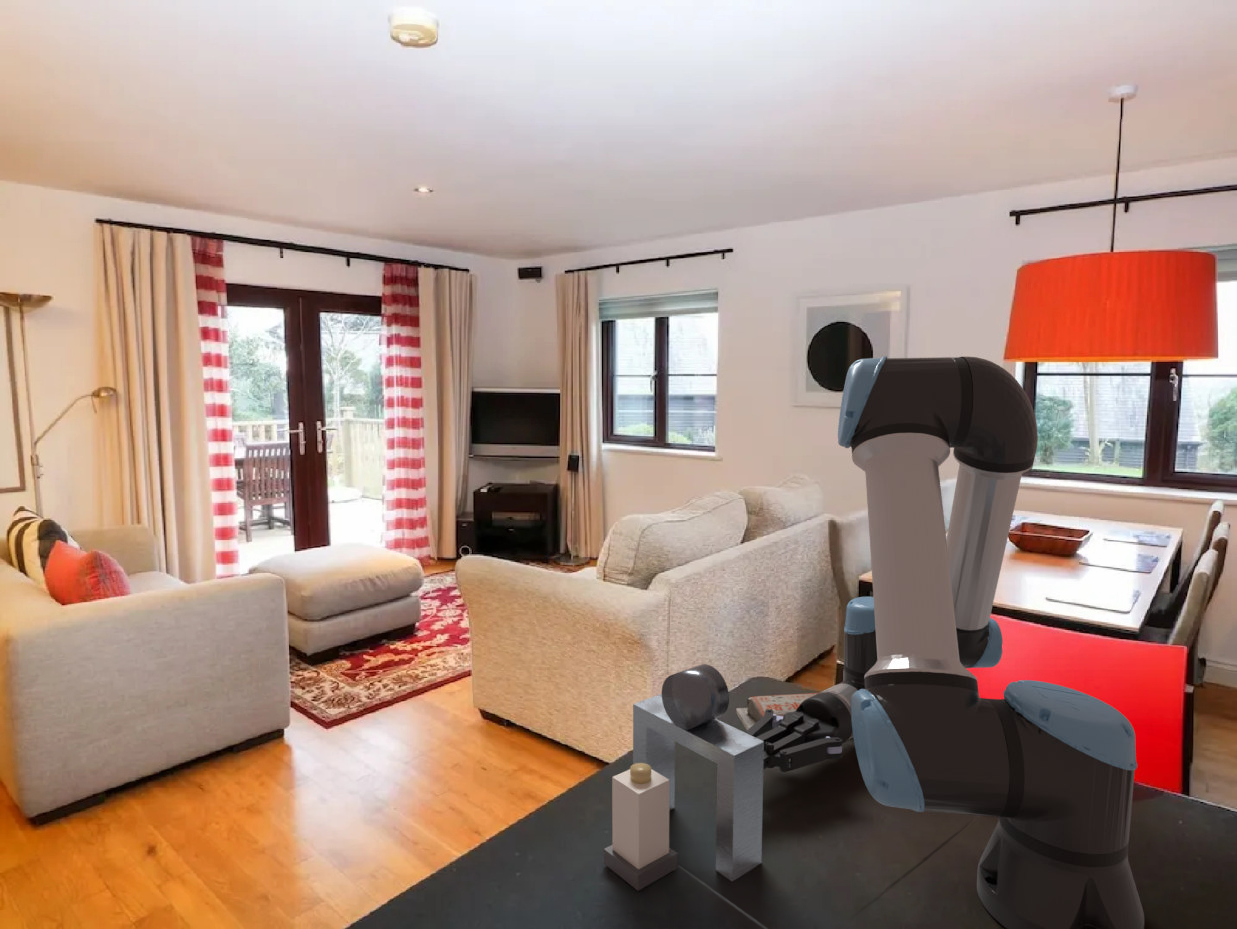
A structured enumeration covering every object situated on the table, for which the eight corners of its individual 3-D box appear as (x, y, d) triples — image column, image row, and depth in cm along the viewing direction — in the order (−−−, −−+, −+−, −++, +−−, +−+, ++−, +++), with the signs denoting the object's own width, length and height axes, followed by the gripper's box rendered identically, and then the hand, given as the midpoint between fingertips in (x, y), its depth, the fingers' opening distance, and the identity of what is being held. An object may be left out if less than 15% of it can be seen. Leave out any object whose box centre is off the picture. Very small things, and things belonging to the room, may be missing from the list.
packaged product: (837, 684, 126) (864, 709, 116) (836, 711, 126) (863, 738, 116) (735, 689, 123) (754, 715, 114) (735, 717, 124) (753, 745, 114)
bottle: (677, 867, 84) (678, 770, 83) (638, 890, 80) (638, 788, 79) (642, 842, 89) (643, 749, 87) (603, 863, 85) (603, 766, 84)
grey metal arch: (761, 865, 85) (765, 687, 83) (732, 883, 82) (735, 699, 79) (661, 801, 98) (662, 646, 96) (633, 815, 95) (633, 655, 93)
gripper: (871, 758, 104) (767, 822, 88) (794, 726, 114) (688, 779, 98) (873, 707, 103) (768, 763, 88) (795, 679, 113) (689, 725, 97)
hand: (726, 771), depth 93 cm, fingers closed
